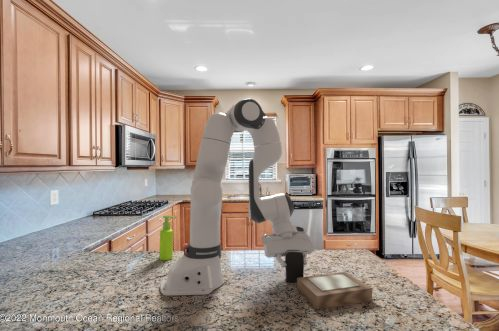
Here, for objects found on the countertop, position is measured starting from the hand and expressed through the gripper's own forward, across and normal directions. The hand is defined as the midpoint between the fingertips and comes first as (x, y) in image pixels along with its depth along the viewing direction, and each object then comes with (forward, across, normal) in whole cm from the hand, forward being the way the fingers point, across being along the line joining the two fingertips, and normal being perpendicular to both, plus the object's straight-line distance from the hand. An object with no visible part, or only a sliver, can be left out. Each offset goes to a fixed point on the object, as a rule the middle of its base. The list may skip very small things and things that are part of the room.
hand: (294, 265), depth 91 cm
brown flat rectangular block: (+13, +8, -5) cm, 16 cm away
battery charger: (+4, 0, +5) cm, 6 cm away
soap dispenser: (-22, -48, +31) cm, 61 cm away
